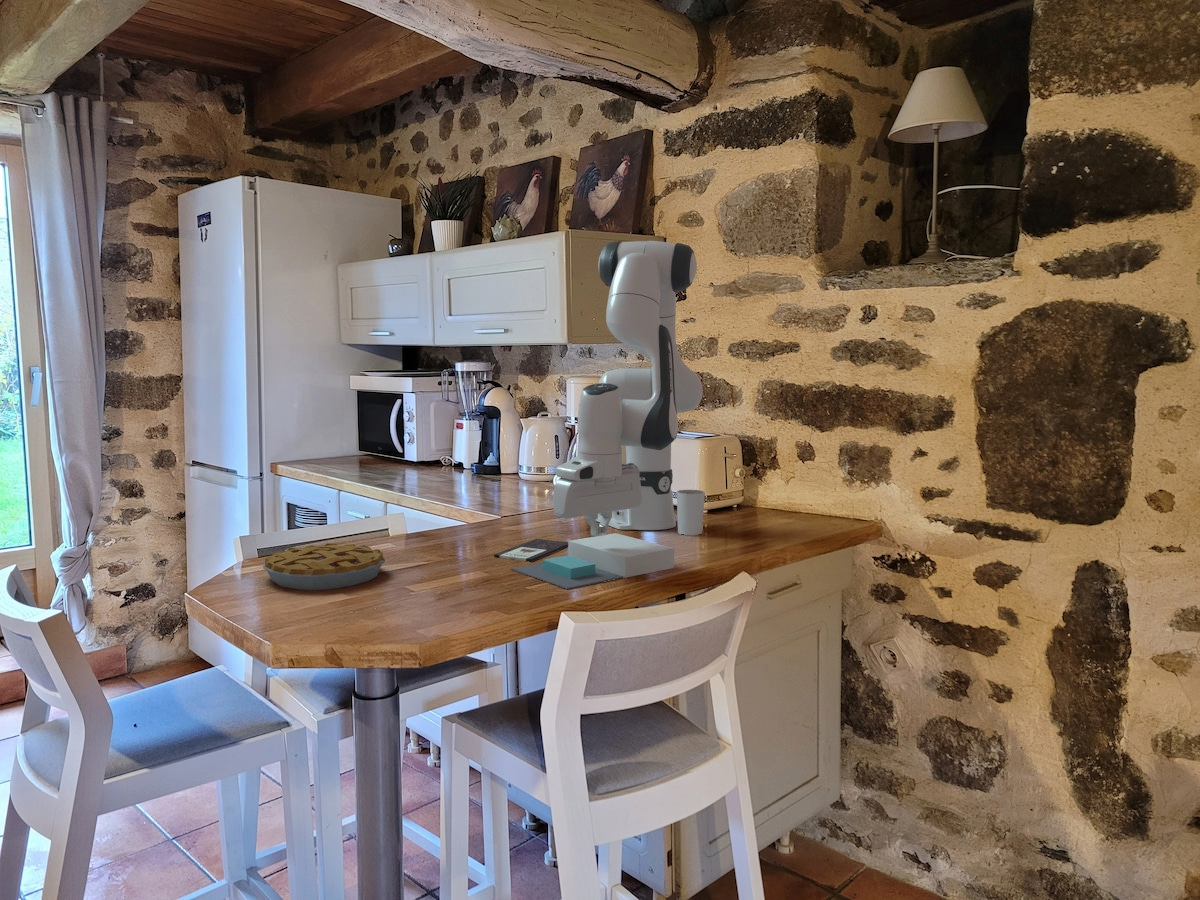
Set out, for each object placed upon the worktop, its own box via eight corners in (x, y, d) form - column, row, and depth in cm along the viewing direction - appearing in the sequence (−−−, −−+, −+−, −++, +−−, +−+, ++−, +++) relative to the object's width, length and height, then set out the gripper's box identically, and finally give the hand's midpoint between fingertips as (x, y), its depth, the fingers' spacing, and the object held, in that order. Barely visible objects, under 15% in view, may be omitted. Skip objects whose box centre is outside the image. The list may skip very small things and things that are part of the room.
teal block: (566, 555, 176) (566, 565, 176) (542, 559, 172) (542, 569, 173) (595, 564, 169) (595, 574, 170) (570, 568, 166) (570, 579, 166)
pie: (341, 558, 182) (340, 534, 181) (408, 576, 168) (407, 550, 168) (241, 578, 165) (240, 552, 165) (305, 600, 151) (305, 571, 151)
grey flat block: (568, 559, 182) (568, 540, 182) (615, 551, 190) (615, 533, 190) (625, 577, 168) (625, 557, 168) (673, 567, 177) (674, 548, 176)
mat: (511, 569, 173) (511, 568, 173) (566, 560, 182) (566, 558, 182) (566, 589, 160) (566, 588, 159) (623, 578, 168) (623, 576, 168)
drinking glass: (671, 534, 209) (672, 492, 208) (682, 529, 215) (683, 488, 214) (697, 536, 206) (698, 494, 205) (707, 532, 212) (708, 491, 211)
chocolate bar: (571, 542, 196) (531, 559, 180) (571, 546, 196) (531, 563, 180) (536, 538, 200) (494, 554, 184) (536, 542, 200) (494, 559, 184)
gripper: (628, 460, 183) (627, 525, 185) (549, 468, 170) (548, 538, 172) (649, 463, 178) (648, 530, 180) (568, 472, 165) (568, 544, 167)
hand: (598, 534), depth 176 cm, fingers closed
